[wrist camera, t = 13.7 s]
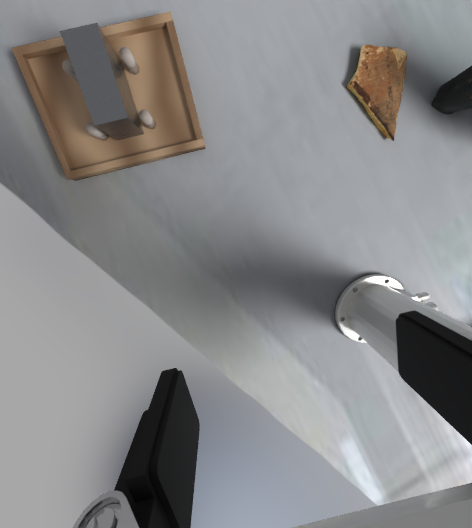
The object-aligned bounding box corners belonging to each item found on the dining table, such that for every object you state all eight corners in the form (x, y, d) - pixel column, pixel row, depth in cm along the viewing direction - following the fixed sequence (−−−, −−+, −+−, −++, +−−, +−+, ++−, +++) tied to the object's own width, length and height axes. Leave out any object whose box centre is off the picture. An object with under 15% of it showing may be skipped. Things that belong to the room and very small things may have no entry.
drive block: (121, 60, 27) (96, 23, 22) (144, 134, 30) (127, 117, 24) (92, 67, 27) (59, 31, 22) (117, 140, 30) (94, 125, 24)
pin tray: (173, 24, 28) (166, -5, 24) (205, 148, 32) (204, 140, 28) (25, 58, 27) (-7, 34, 23) (75, 180, 31) (55, 177, 27)
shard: (386, 143, 35) (395, 140, 33) (337, 141, 34) (344, 137, 32) (401, 55, 32) (412, 47, 30) (348, 51, 31) (356, 42, 29)
